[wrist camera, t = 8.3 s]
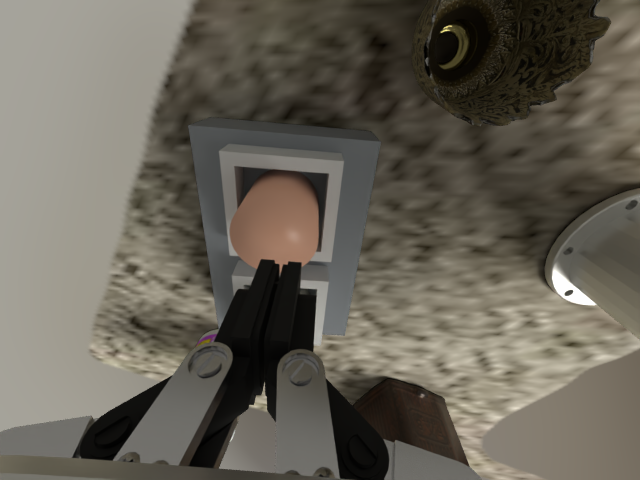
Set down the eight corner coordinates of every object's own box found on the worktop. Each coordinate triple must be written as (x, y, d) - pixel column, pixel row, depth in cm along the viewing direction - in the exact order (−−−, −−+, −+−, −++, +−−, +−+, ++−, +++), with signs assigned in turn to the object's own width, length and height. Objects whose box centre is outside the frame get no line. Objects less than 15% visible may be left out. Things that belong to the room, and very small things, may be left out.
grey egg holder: (370, 131, 21) (387, 149, 16) (341, 306, 30) (346, 353, 25) (210, 117, 20) (173, 130, 15) (230, 299, 29) (211, 346, 24)
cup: (498, 95, 20) (595, 104, 13) (395, 122, 21) (433, 144, 14) (508, -46, 16) (653, -140, 9) (382, -6, 17) (425, -64, 10)
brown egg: (321, 171, 18) (322, 200, 14) (316, 234, 21) (315, 276, 16) (248, 165, 18) (225, 192, 14) (251, 229, 20) (232, 270, 16)
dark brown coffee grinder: (449, 395, 39) (535, 606, 23) (399, 429, 44) (443, 623, 28) (358, 360, 35) (390, 586, 19) (315, 402, 40) (312, 610, 24)
